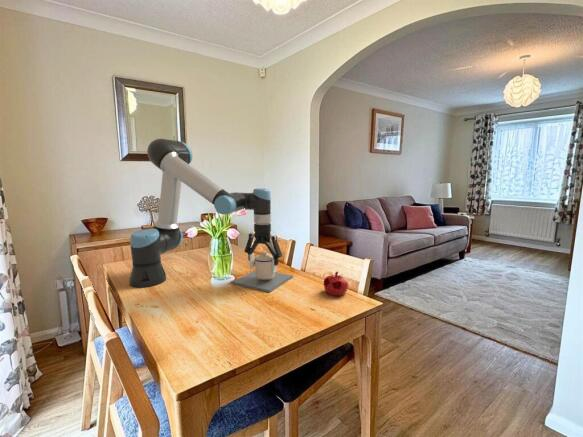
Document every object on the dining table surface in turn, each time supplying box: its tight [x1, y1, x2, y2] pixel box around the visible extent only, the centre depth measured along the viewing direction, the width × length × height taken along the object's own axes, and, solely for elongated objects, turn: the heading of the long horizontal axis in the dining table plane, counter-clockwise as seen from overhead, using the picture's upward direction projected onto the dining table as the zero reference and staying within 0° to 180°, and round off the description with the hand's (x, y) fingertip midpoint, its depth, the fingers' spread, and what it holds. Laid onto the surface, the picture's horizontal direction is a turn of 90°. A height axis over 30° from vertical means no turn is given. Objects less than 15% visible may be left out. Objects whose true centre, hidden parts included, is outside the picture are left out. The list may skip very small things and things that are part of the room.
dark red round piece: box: [323, 271, 349, 297], centre depth 121 cm, size 10×10×9 cm
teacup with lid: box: [254, 250, 275, 279], centre depth 134 cm, size 12×9×12 cm
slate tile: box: [232, 269, 294, 293], centre depth 136 cm, size 20×20×1 cm
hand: (263, 269), depth 135 cm, fingers closed on teacup with lid, 12 cm apart
